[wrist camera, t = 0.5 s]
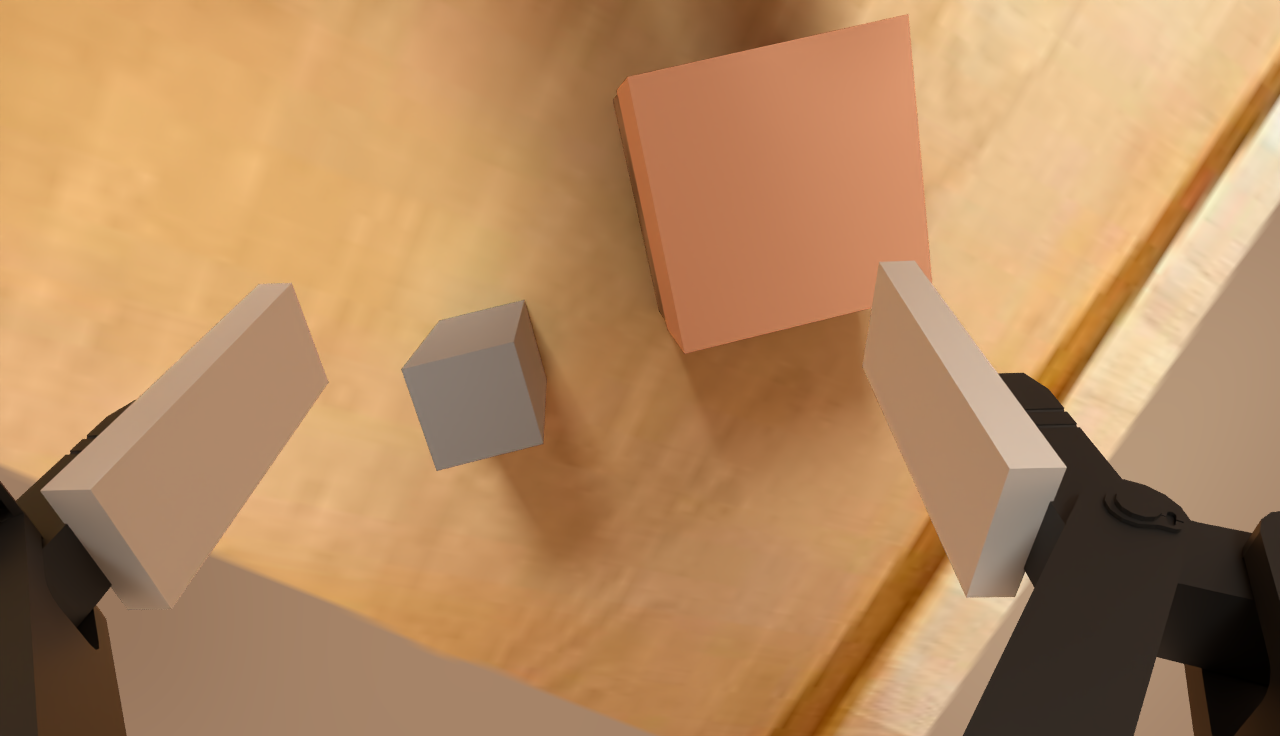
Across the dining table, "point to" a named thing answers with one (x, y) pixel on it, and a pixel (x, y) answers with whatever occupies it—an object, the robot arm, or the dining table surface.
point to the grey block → (479, 386)
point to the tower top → (778, 180)
